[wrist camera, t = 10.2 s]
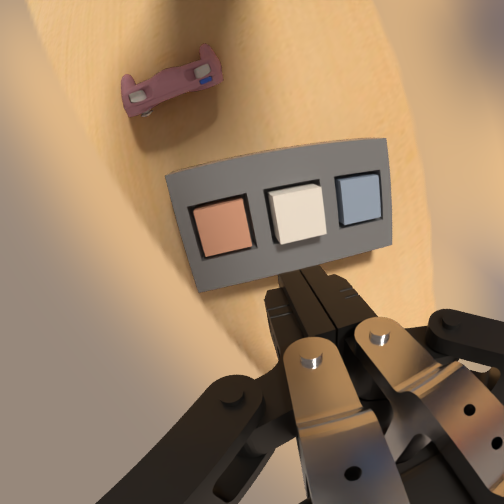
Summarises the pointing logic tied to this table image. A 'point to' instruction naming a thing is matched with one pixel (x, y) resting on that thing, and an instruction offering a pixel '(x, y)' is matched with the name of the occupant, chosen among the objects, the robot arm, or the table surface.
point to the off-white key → (297, 212)
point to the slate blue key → (357, 197)
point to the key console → (259, 214)
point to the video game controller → (171, 83)
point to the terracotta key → (222, 225)
